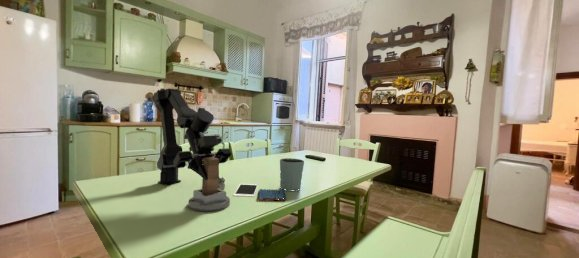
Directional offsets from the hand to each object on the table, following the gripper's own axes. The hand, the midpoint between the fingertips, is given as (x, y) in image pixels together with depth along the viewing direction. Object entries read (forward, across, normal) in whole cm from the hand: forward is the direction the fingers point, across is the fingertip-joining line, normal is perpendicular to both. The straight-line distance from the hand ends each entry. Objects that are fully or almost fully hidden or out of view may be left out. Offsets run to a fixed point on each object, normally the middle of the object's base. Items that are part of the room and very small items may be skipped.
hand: (212, 178), depth 83 cm
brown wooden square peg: (+4, 0, +6) cm, 7 cm away
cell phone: (+2, +19, +12) cm, 23 cm away
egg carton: (-6, +12, +20) cm, 24 cm away
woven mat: (+10, +22, +3) cm, 24 cm away
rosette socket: (+5, 0, +7) cm, 9 cm away
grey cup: (+8, +36, +5) cm, 37 cm away
